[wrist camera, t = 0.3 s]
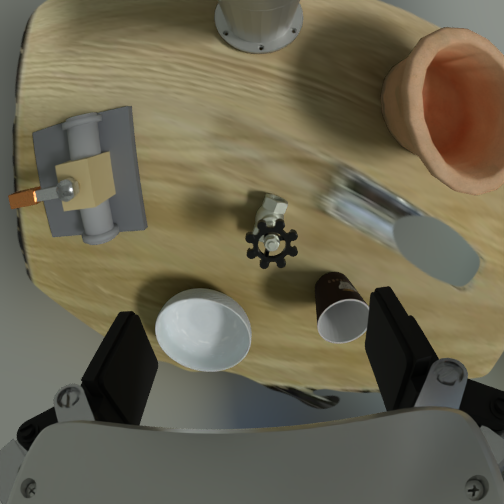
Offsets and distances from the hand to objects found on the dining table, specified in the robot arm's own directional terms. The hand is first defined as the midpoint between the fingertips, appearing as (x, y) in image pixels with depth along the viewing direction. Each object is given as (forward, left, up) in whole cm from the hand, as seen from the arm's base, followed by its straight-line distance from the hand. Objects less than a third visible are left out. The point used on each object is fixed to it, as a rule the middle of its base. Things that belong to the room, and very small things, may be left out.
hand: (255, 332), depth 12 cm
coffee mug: (+22, +13, -36) cm, 45 cm away
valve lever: (-2, -31, -27) cm, 41 cm away
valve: (+7, +1, -36) cm, 37 cm away
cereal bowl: (+26, -11, -36) cm, 46 cm away
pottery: (-11, +27, -36) cm, 47 cm away
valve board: (-2, -29, -36) cm, 46 cm away
